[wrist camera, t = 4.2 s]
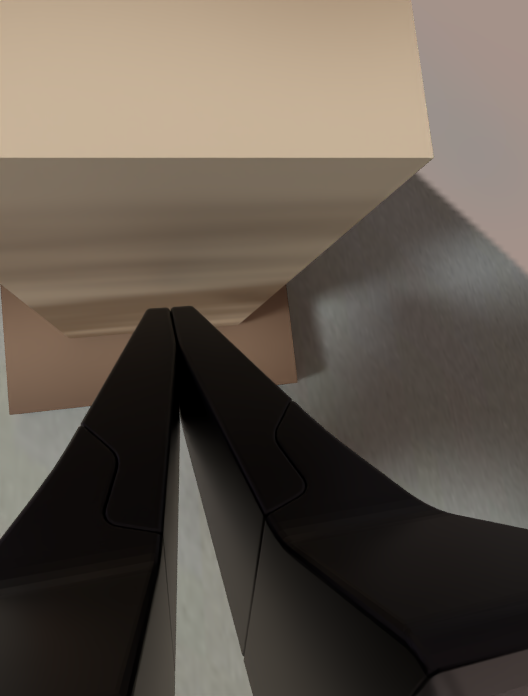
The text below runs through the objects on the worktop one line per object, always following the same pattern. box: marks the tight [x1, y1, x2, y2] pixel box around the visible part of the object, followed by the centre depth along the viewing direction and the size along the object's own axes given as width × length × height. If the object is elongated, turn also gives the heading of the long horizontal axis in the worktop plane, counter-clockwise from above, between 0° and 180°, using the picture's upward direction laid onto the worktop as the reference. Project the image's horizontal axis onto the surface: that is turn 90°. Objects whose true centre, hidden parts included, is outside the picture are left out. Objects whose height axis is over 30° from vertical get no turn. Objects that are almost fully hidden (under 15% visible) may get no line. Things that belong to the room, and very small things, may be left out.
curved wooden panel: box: [0, 0, 434, 338], centre depth 10 cm, size 4×5×11 cm
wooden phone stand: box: [0, 284, 297, 415], centre depth 12 cm, size 8×9×10 cm
